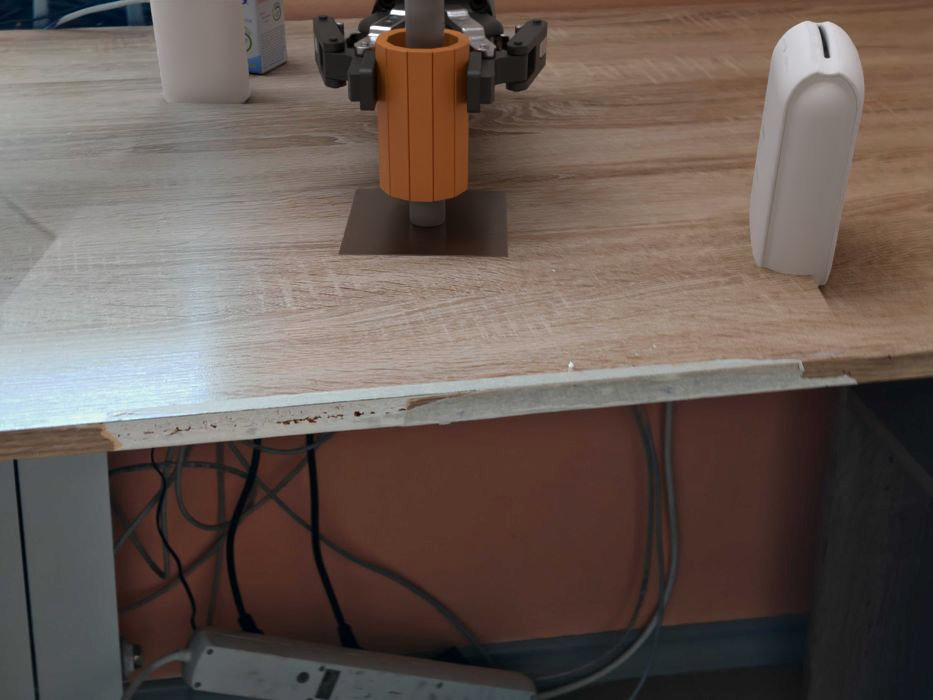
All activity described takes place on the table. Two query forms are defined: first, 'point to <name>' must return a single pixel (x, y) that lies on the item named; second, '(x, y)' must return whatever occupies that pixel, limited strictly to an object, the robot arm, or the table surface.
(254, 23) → the medicine box
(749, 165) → the table surface
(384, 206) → the post stand
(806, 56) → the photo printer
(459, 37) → the ring sleeve
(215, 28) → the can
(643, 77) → the table surface
